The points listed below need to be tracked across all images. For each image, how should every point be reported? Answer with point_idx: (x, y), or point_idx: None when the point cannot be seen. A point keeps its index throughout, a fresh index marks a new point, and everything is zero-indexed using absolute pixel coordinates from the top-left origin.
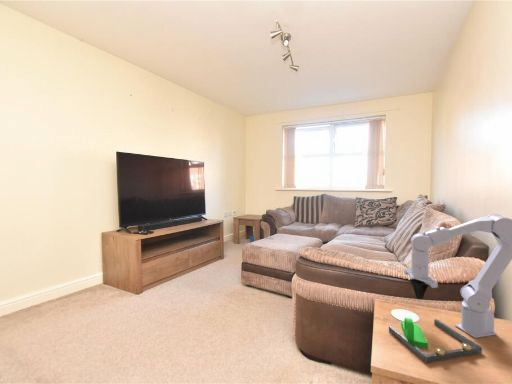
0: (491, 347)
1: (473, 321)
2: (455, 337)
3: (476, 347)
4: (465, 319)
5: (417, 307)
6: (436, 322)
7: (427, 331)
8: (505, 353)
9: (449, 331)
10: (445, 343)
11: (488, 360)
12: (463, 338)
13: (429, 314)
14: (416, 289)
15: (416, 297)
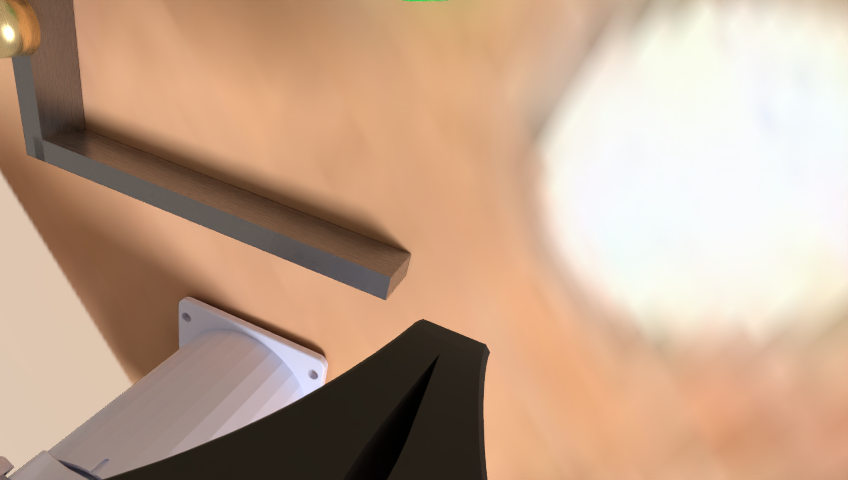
0: (108, 263)
1: (130, 390)
2: (216, 183)
3: (27, 117)
4: (186, 393)
5: (696, 458)
6: (374, 260)
7: (363, 69)
8: (61, 260)
9: (251, 207)
10: (190, 25)
11: (16, 96)
12: (129, 169)
13: (539, 399)
14: (341, 459)
15: (476, 343)
